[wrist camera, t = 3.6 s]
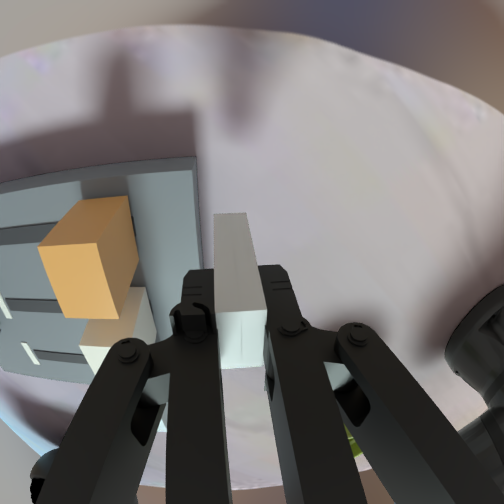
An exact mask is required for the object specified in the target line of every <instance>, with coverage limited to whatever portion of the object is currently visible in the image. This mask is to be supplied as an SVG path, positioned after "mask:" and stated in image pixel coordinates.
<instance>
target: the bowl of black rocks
mask: <svg viewBox="0 0 504 504" xmlns="http://www.w3.org/2000/svg"><path fill="white" fill-rule="evenodd" d="M58 449H59V448H57V449H54V450H51V451H49V452H47V453H46V454H44V455H43V456H42V457H40V459H39V460H38V461H37V462H36V464H35V465H34V467H33V468H32V471H31V474H30V478H31V479H32V483H31V486H30V492H31V499H32V502H33V503H34V504H36V501H37V499H38V496H39V494H40V491H41V489H42V486H43V484H44V481H45V479H46V477H47V474H48V472H49V470H50V467H51V465H52V463H53V460H54V458H55V456H56V454H57V452H58ZM133 504H138V499H137V496H135V500H134V503H133Z"/></svg>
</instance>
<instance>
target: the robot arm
mask: <svg viewBox="0 0 504 504" xmlns="http://www.w3.org/2000/svg"><path fill="white" fill-rule="evenodd" d="M169 319H170V323H171V328H172V332H173V334H172V335H171V336H170V337H168V338H167V339H165V340H163V341H160V342H157V343H153V344H149V345H147V344H146V343H145V342H144V341H143V340H141V339H138V338H125V339H121V340H119V341H118V342H116V343H114V345H113V346H112V347H111V348H110V349H109V351H108V353H107V355H106V356H105V358H104V360H103V362H102V364H101V366H100V367H99V369H98V371H97V373H96V375H95V377H94V379H93V380H92V382H91V384H90V386H89V388H88V390H87V392H86V394H85V396H84V398H83V400H82V402H81V404H80V406H79V408H78V410H77V412H76V414H75V416H74V418H73V420H72V422H71V424H70V426H69V428H68V430H67V432H66V434H65V436H64V438H63V441H62V443H61V445H60V447H59V449H58V452H57V454H56V456H55V458H54V460H53V463H52V465H51V467H50V470H49V472H48V474H47V477H46V479H45V481H44V484H43V486H42V489H41V491H40V494H39V496H38V499H37V501H36V504H133V503H134V500H135V496H136V493H137V490H138V487H139V484H140V481H141V478H142V475H143V472H144V469H145V465H146V462H147V459H148V456H149V453H150V450H151V447H152V444H153V441H154V439H155V436H156V433H157V430H158V427H159V424H160V421H161V418H162V415H163V412H164V409H165V407H166V403H167V402H168V414H167V437H166V504H233V503H232V493H231V483H230V473H229V462H228V451H227V439H226V427H225V414H224V400H223V385H222V375H221V369H230V368H246V367H259V366H264V363H265V369H266V374H265V386H264V391H267V394H268V399H269V405H270V411H271V417H272V423H273V429H274V435H275V440H276V446H277V452H278V458H279V463H280V469H281V475H282V480H283V486H284V492H285V497H286V503H287V504H367V500H366V497H365V493H364V489H363V486H362V483H361V479H360V476H359V472H358V469H357V466H356V462H355V459H354V456H353V452H352V449H351V446H350V442H349V439H348V436H347V433H346V430H345V426H346V427H347V429H348V431H349V432H350V434H351V435H352V437H353V438H354V440H355V442H356V443H357V445H358V446H359V448H360V449H361V451H362V453H363V454H364V456H365V457H366V459H367V460H368V462H369V464H370V465H371V467H372V468H373V470H374V471H375V473H376V474H377V476H378V478H379V479H380V481H381V482H382V484H383V485H384V487H385V488H386V490H387V491H388V493H389V495H390V496H391V498H392V499H393V501H394V504H504V285H503V286H501V287H499V288H497V289H496V290H494V291H493V292H491V293H490V294H489V295H488V296H486V297H485V298H484V299H483V300H482V301H481V302H480V303H479V304H477V305H476V306H475V307H474V309H473V310H472V311H471V312H470V313H469V314H468V315H467V316H466V317H465V319H464V320H463V321H462V322H461V324H460V325H459V326H458V328H457V329H456V330H455V332H454V334H453V335H452V337H451V339H450V340H449V343H448V345H447V347H446V351H445V360H446V362H447V363H448V365H449V367H450V368H451V370H452V371H453V372H454V373H455V374H456V375H458V376H460V377H461V378H462V379H463V380H464V381H465V382H466V383H468V384H469V385H470V386H471V387H472V388H474V389H475V390H476V391H477V392H479V393H480V394H481V396H482V397H483V399H484V401H485V403H486V405H487V406H488V408H489V409H488V410H487V411H486V412H485V413H483V414H482V415H481V416H479V417H478V418H476V419H475V420H474V421H472V422H471V423H469V424H468V425H466V426H465V427H463V428H462V429H461V430H459V431H456V430H455V428H454V427H453V426H452V425H451V423H450V422H449V421H448V419H447V418H446V417H445V416H444V414H443V413H442V412H441V411H440V409H439V408H438V407H437V406H436V404H435V403H434V402H433V401H432V399H431V398H430V397H429V396H428V394H427V393H426V392H425V391H424V389H423V388H422V387H421V386H420V385H419V383H418V382H417V381H416V380H415V378H414V377H413V376H412V375H411V374H410V372H409V371H408V370H407V369H406V368H405V366H404V365H403V364H402V363H401V362H400V360H399V359H398V358H397V357H396V356H395V354H394V353H393V352H392V351H391V350H390V349H389V347H388V346H387V345H386V344H385V343H384V342H383V340H382V339H381V338H380V337H379V336H378V335H377V333H376V332H375V331H374V330H373V329H371V328H370V327H369V326H367V325H364V324H362V323H355V322H353V323H348V324H345V325H344V326H342V327H341V328H340V329H339V331H338V332H332V331H325V330H320V329H317V328H315V327H312V326H311V325H310V323H309V322H308V321H307V320H306V319H305V318H303V317H302V315H301V312H300V309H299V306H298V303H297V300H296V297H295V294H294V291H293V289H292V285H291V282H290V279H289V276H288V273H287V271H286V270H285V269H283V268H282V267H281V266H280V265H260V266H258V265H257V261H256V256H255V252H254V247H253V242H252V238H251V233H250V229H249V224H248V220H247V215H246V213H228V214H214V269H195V270H189V271H188V272H187V274H186V275H185V276H184V278H183V285H182V293H181V303H179V304H177V305H176V306H175V307H173V308H172V309H171V311H170V314H169ZM344 424H345V426H344Z"/></svg>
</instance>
